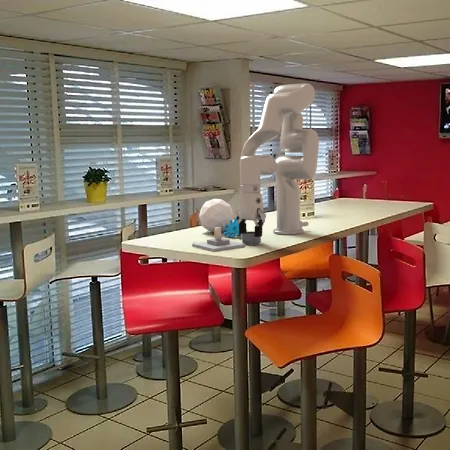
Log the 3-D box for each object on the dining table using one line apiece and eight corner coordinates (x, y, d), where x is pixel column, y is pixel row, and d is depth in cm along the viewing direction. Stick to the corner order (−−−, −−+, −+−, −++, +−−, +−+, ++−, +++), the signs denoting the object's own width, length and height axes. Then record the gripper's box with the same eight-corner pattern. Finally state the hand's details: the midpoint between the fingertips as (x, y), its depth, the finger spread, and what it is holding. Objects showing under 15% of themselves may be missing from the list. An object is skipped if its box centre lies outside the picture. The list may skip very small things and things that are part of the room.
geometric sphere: (223, 245, 250) (227, 219, 239) (191, 231, 253) (194, 206, 243) (237, 224, 259) (241, 199, 249) (206, 212, 263) (209, 186, 252)
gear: (217, 232, 239) (231, 214, 242) (224, 241, 243) (238, 222, 246) (236, 239, 231) (251, 219, 234) (243, 248, 235) (257, 229, 238)
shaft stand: (223, 241, 227) (222, 223, 226) (245, 246, 216) (244, 227, 215) (192, 246, 219) (191, 227, 218) (213, 251, 208) (212, 231, 207)
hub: (253, 241, 227) (252, 230, 227) (264, 243, 222) (264, 232, 221) (238, 243, 223) (238, 232, 223) (249, 245, 218) (249, 234, 217)
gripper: (273, 190, 215) (272, 236, 217) (244, 188, 229) (244, 232, 231) (256, 191, 210) (256, 238, 212) (228, 188, 224) (228, 233, 226)
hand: (250, 235), depth 221 cm, fingers open, 9 cm apart
